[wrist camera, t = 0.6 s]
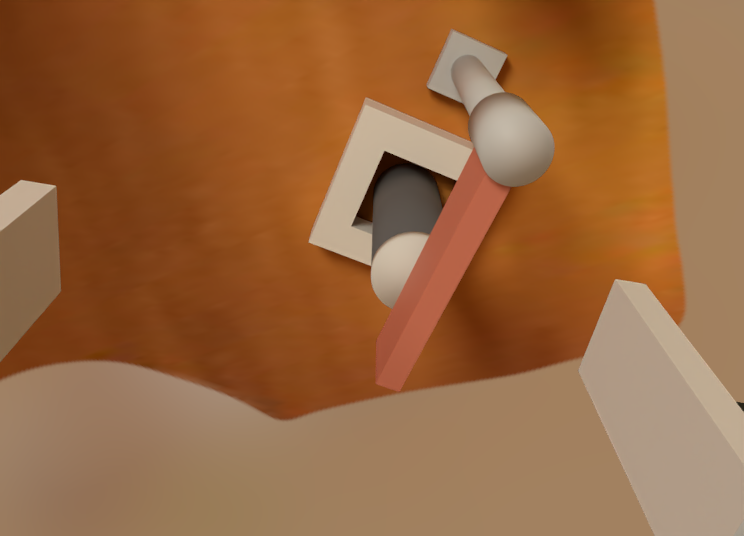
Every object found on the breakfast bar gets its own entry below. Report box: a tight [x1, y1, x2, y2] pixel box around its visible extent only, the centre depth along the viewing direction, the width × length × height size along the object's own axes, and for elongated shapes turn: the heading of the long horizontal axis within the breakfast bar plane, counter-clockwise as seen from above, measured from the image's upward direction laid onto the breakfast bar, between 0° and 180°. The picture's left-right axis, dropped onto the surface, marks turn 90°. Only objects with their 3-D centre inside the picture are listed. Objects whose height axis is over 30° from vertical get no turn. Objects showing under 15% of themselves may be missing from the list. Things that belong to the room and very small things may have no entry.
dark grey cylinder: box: [371, 163, 443, 309], centre depth 39 cm, size 4×4×12 cm
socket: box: [309, 29, 507, 266], centre depth 37 cm, size 10×16×13 cm, turn 157°
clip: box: [376, 92, 554, 392], centre depth 29 cm, size 3×14×4 cm, turn 157°
